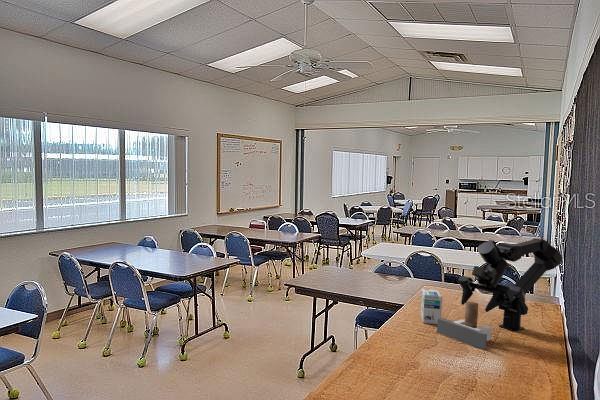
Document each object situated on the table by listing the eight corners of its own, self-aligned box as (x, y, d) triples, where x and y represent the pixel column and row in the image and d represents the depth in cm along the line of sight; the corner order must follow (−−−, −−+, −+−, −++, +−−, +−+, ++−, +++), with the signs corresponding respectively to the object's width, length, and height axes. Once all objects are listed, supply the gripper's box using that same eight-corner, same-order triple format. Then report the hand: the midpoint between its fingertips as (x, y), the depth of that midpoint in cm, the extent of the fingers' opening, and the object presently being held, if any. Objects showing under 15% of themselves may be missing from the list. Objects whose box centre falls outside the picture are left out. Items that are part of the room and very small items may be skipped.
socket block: (465, 331, 164) (466, 318, 164) (490, 340, 156) (491, 326, 155) (449, 335, 159) (450, 322, 158) (474, 344, 151) (475, 331, 150)
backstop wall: (439, 332, 162) (440, 317, 162) (486, 349, 147) (487, 333, 147) (436, 332, 161) (437, 318, 161) (483, 349, 146) (484, 334, 146)
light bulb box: (441, 325, 170) (443, 296, 169) (422, 323, 171) (424, 294, 171) (437, 316, 181) (439, 289, 180) (419, 315, 182) (421, 288, 181)
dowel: (472, 335, 159) (474, 301, 159) (478, 340, 156) (480, 304, 155) (461, 335, 159) (463, 301, 158) (467, 340, 155) (469, 305, 154)
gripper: (462, 253, 167) (441, 286, 161) (511, 262, 152) (490, 299, 146) (474, 273, 172) (454, 306, 166) (522, 283, 157) (502, 320, 151)
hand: (473, 307), depth 157 cm, fingers open, 9 cm apart
